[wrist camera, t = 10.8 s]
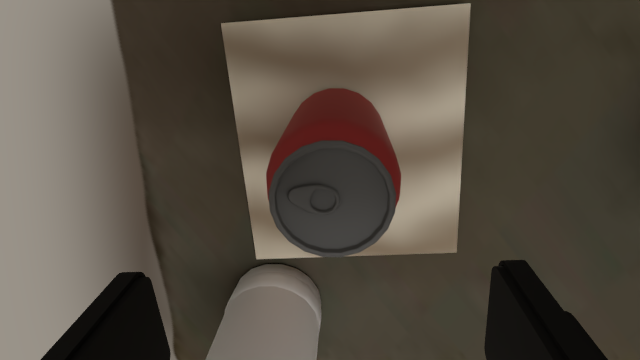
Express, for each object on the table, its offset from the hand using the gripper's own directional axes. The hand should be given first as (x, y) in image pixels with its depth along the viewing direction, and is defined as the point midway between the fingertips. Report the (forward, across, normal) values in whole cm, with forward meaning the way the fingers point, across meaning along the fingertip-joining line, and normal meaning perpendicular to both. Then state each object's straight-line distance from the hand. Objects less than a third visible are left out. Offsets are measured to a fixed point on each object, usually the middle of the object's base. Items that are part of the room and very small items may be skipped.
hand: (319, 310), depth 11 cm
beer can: (+19, 0, 0) cm, 19 cm away
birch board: (+20, -1, +1) cm, 20 cm away
